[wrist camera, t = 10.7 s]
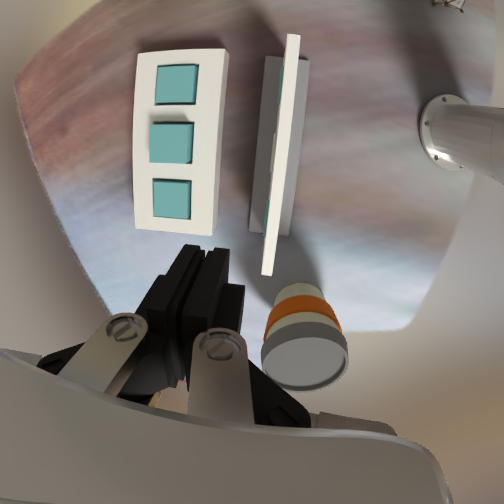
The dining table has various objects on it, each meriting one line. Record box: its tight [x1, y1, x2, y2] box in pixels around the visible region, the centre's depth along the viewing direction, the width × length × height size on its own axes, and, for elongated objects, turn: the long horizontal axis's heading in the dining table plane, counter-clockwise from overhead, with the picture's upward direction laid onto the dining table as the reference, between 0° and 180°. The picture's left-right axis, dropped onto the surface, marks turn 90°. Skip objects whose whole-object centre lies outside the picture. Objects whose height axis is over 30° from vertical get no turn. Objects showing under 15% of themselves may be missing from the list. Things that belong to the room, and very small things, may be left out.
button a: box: [155, 66, 199, 103], centre depth 33 cm, size 5×5×3 cm
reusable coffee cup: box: [261, 283, 348, 393], centre depth 44 cm, size 13×12×15 cm
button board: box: [133, 49, 230, 236], centre depth 37 cm, size 12×26×4 cm, turn 175°
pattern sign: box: [249, 34, 310, 276], centre depth 33 cm, size 6×26×13 cm, turn 175°
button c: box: [153, 178, 192, 219], centre depth 40 cm, size 5×5×3 cm
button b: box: [149, 124, 194, 164], centre depth 35 cm, size 5×5×3 cm
